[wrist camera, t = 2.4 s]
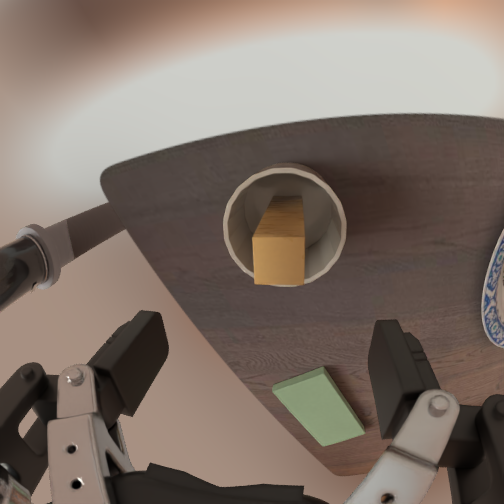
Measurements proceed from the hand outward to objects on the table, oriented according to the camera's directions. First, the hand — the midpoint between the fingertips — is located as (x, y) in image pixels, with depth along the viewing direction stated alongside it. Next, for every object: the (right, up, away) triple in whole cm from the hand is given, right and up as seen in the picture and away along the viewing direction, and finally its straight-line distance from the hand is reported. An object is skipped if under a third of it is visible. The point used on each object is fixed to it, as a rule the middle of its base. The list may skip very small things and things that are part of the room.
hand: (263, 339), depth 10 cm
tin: (+3, +8, +20) cm, 22 cm away
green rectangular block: (+11, -21, +30) cm, 38 cm away
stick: (+3, +7, +20) cm, 21 cm away
